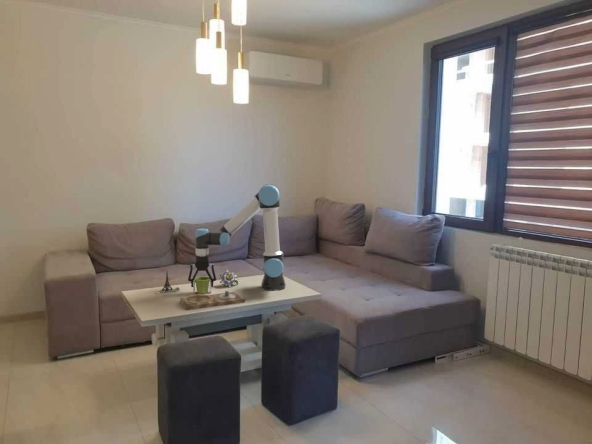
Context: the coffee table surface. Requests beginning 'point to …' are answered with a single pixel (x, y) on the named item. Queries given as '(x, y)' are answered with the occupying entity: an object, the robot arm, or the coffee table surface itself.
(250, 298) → the coffee table surface
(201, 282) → the plant pot
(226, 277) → the passion flower
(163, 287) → the eiffel tower figurine
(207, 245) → the robot arm
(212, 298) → the mount board
